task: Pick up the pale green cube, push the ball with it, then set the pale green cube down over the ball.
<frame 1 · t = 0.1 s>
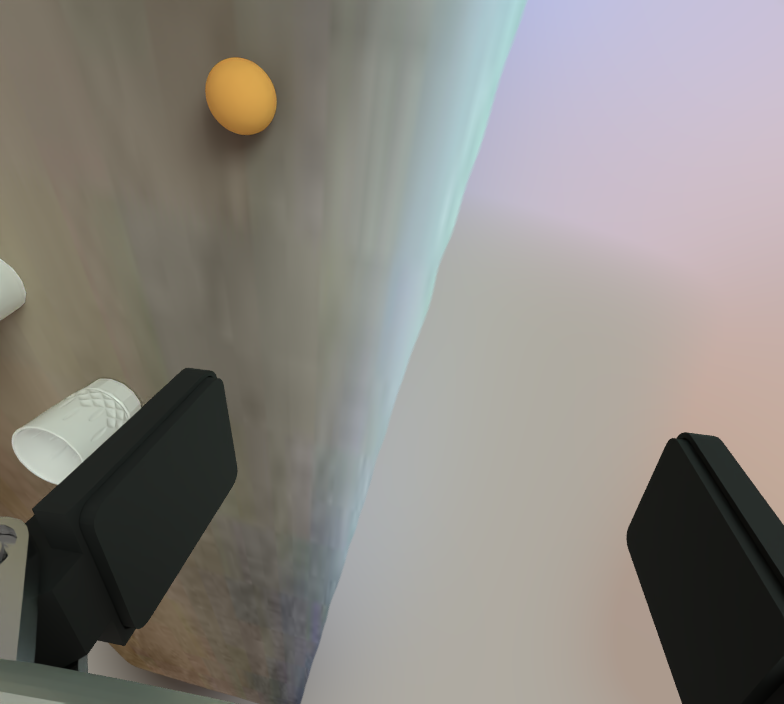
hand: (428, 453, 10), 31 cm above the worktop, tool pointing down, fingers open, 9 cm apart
ball: (241, 97, 33), on the worktop
white cup: (117, 400, 54), on the worktop
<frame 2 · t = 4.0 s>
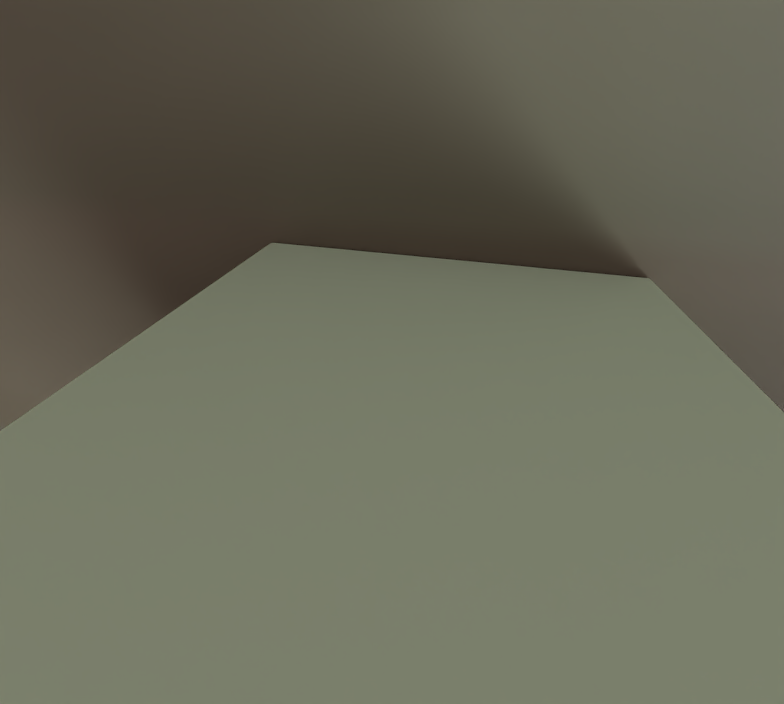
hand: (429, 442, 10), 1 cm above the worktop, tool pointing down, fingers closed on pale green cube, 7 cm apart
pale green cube: (433, 411, 11), on the worktop, touching gripper
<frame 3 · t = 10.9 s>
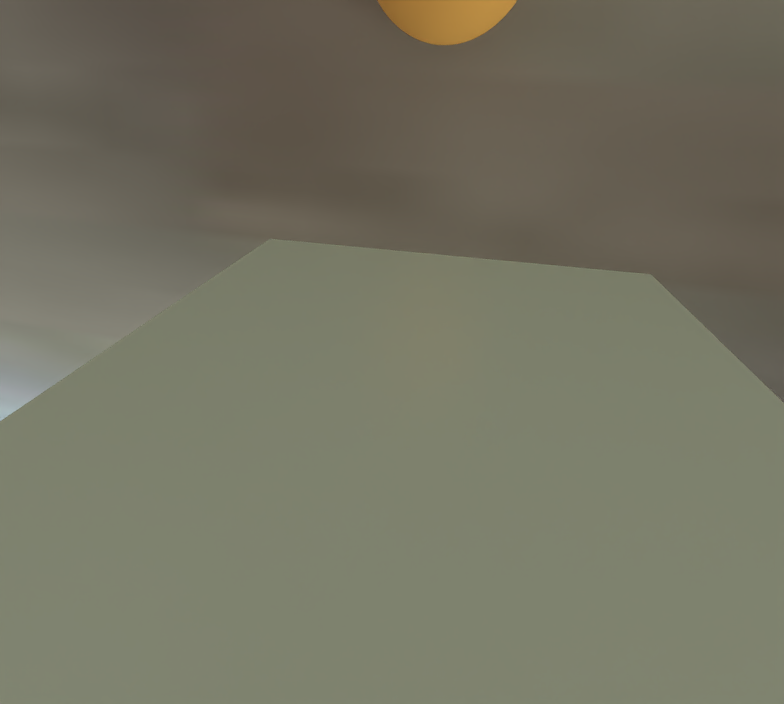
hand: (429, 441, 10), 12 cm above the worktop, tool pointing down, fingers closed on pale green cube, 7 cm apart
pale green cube: (433, 408, 11), point 10 cm above the worktop, touching gripper
when the fingers open (2 cm above the worktop, at t = 16.1 s): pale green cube stays where it is, on the worktop.
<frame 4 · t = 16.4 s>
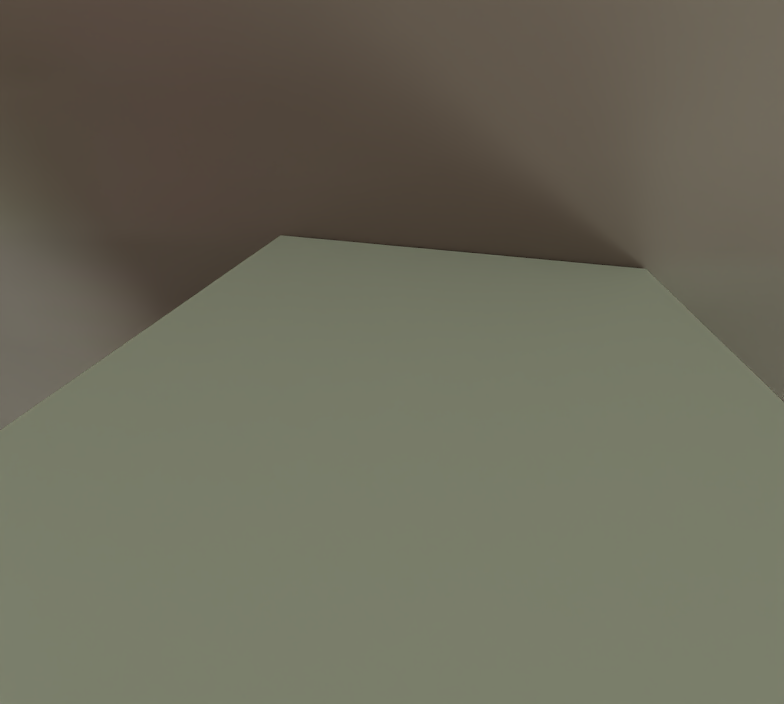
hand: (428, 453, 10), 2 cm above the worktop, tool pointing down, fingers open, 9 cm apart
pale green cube: (437, 399, 11), on the worktop
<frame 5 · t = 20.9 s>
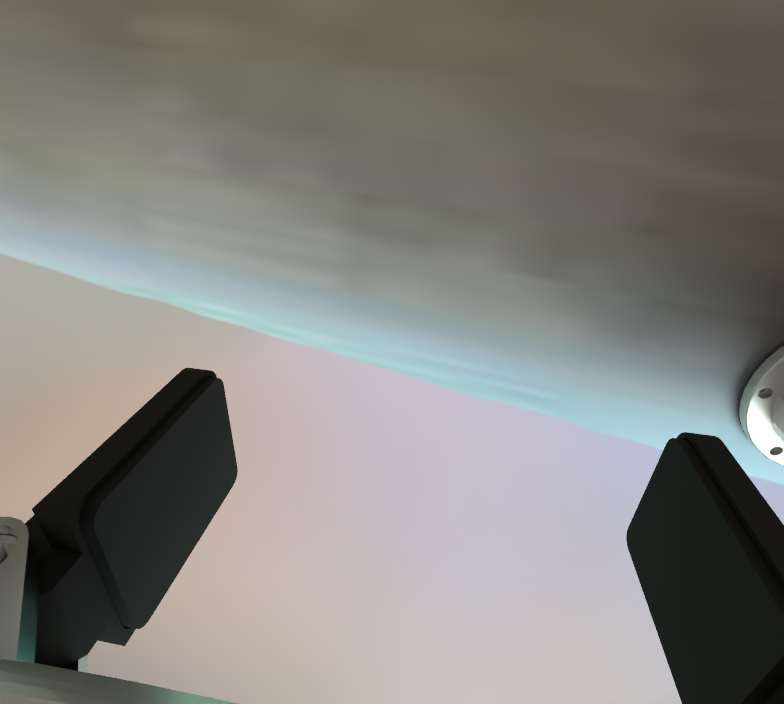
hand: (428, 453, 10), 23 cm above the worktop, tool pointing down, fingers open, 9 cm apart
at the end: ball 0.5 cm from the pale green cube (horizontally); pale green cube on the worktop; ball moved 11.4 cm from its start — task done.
